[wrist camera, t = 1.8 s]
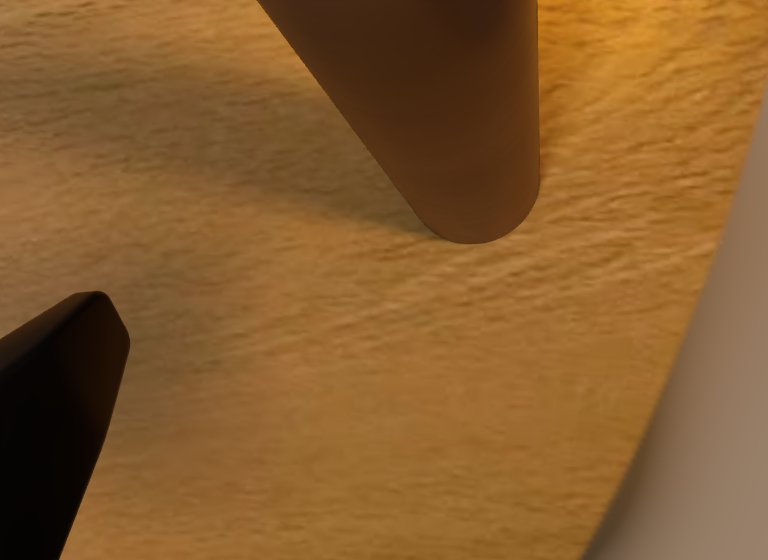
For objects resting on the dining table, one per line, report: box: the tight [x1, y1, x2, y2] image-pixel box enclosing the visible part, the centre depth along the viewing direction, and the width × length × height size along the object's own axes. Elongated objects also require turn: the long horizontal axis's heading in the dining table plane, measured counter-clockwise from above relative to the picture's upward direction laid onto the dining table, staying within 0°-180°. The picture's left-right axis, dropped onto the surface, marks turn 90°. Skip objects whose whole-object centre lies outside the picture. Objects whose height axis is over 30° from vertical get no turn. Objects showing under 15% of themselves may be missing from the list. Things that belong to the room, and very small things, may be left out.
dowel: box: [257, 0, 540, 244], centre depth 14 cm, size 4×4×15 cm
